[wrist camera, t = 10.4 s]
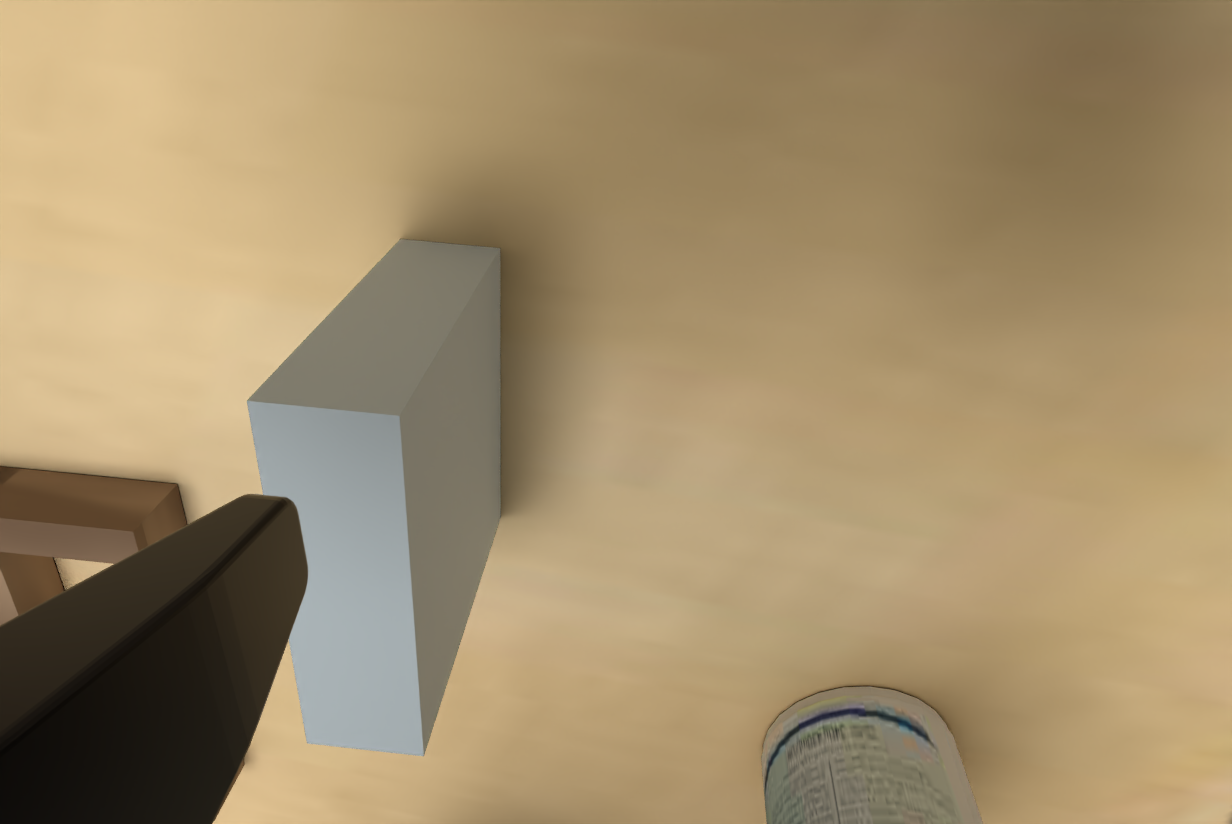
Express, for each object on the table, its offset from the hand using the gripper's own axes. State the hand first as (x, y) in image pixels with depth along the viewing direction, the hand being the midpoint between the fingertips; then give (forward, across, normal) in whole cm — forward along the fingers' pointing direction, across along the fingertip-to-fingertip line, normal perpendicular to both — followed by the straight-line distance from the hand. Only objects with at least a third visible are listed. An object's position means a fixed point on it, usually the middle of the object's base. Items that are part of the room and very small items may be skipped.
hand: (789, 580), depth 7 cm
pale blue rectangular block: (+13, +6, +6) cm, 16 cm away
